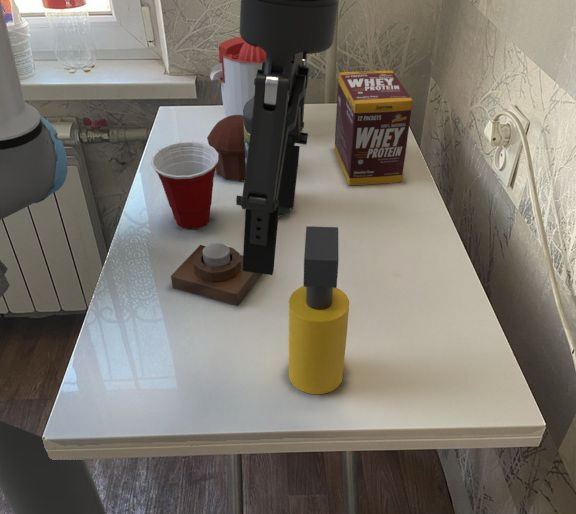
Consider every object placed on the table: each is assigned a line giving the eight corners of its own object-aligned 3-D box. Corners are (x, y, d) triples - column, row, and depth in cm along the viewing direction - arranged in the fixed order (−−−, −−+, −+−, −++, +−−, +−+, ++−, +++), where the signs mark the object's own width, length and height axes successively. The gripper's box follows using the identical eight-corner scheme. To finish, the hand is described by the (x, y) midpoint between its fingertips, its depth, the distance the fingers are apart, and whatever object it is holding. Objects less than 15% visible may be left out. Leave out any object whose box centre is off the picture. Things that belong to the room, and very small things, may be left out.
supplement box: (348, 186, 116) (354, 103, 105) (333, 150, 127) (337, 71, 116) (402, 183, 116) (414, 100, 106) (383, 147, 128) (391, 68, 117)
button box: (172, 287, 93) (168, 265, 90) (201, 256, 99) (199, 234, 96) (237, 306, 90) (236, 284, 87) (263, 272, 96) (263, 250, 93)
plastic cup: (152, 236, 103) (141, 169, 95) (170, 203, 111) (161, 139, 103) (216, 241, 102) (210, 174, 94) (229, 207, 110) (225, 143, 102)
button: (198, 264, 91) (197, 254, 90) (211, 250, 94) (210, 240, 93) (222, 270, 90) (221, 261, 89) (235, 256, 93) (234, 246, 92)
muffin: (258, 187, 115) (256, 136, 108) (202, 181, 117) (196, 129, 110) (274, 159, 123) (273, 109, 117) (221, 153, 125) (217, 104, 118)
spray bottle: (290, 349, 83) (291, 222, 70) (342, 351, 83) (353, 224, 69) (287, 393, 77) (287, 264, 64) (343, 395, 77) (355, 266, 64)
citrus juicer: (211, 119, 137) (203, 21, 124) (288, 113, 140) (288, 17, 126) (218, 150, 126) (210, 46, 112) (302, 144, 129) (303, 41, 115)
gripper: (323, 27, 37) (291, 313, 51) (349, -28, 57) (320, 189, 70) (202, 11, 38) (201, 299, 51) (268, -39, 57) (255, 179, 70)
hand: (270, 235), depth 60 cm, fingers open, 13 cm apart
